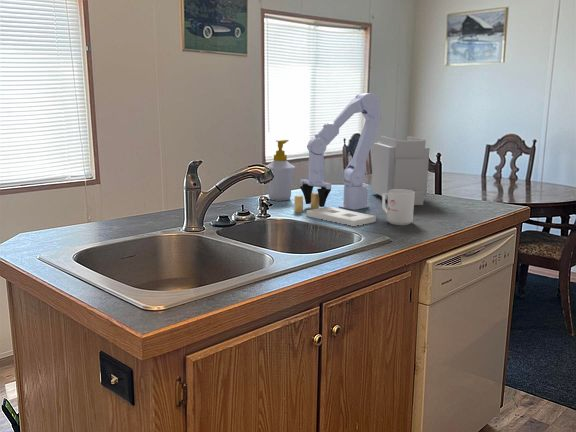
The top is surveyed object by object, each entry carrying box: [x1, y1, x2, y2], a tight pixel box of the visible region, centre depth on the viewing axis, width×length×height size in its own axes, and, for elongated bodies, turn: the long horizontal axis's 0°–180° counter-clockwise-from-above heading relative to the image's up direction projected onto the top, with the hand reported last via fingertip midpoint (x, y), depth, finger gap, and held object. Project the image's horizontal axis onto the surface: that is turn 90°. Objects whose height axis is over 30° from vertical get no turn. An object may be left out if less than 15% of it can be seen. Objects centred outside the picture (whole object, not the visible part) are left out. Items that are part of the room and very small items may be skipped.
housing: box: [305, 206, 377, 227], centre depth 196 cm, size 12×22×2 cm, turn 44°
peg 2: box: [310, 192, 320, 210], centre depth 212 cm, size 3×3×6 cm
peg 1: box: [293, 195, 304, 214], centre depth 206 cm, size 3×3×6 cm
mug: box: [381, 189, 415, 226], centre depth 192 cm, size 12×9×11 cm
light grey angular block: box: [370, 135, 431, 206], centre depth 234 cm, size 17×27×26 cm, turn 9°
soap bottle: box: [265, 139, 296, 202], centre depth 229 cm, size 13×13×25 cm
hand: (315, 205), depth 213 cm, fingers open, 7 cm apart
